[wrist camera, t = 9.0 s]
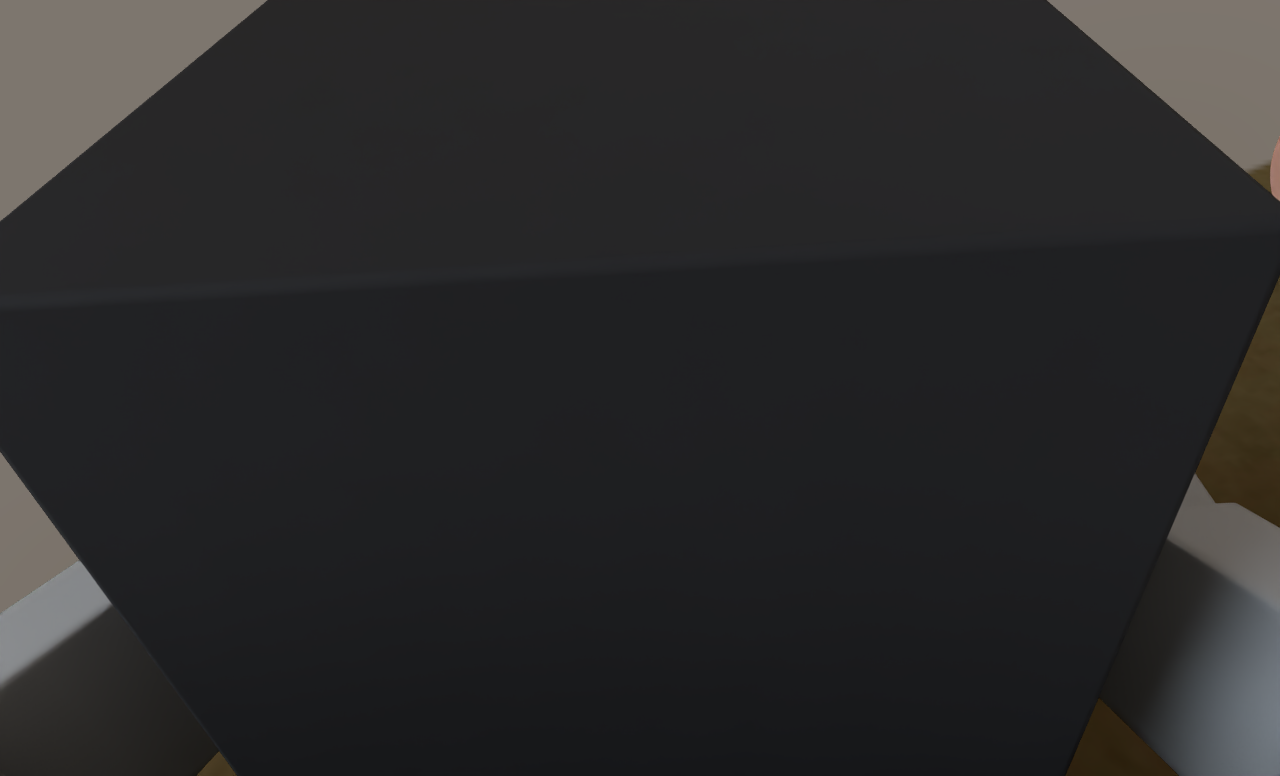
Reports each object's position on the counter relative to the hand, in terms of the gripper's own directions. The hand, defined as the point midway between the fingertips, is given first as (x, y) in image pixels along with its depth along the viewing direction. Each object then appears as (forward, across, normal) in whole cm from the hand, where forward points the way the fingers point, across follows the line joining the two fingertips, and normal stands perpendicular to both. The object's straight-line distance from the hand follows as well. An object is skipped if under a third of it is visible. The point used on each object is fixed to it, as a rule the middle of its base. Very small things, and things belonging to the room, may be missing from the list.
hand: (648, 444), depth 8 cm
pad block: (-1, 0, +5) cm, 5 cm away
